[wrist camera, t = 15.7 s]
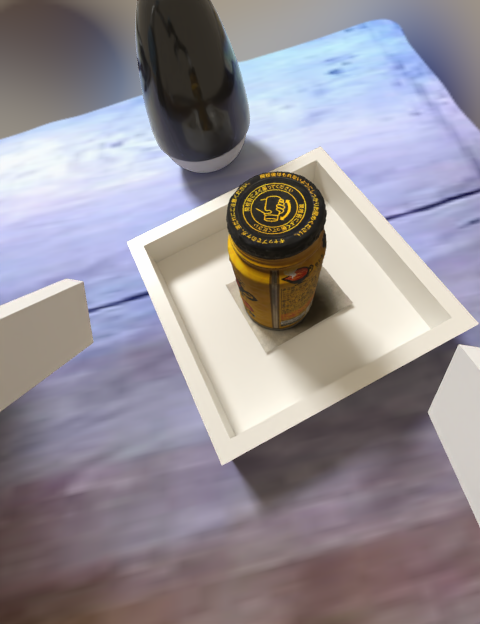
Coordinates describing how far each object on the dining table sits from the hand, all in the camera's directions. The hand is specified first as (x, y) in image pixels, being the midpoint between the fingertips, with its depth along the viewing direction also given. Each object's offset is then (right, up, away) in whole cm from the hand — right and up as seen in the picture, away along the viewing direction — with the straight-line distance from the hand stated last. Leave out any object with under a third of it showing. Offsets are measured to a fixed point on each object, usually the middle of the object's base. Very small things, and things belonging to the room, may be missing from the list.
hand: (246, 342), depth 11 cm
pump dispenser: (-4, +20, +24) cm, 31 cm away
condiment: (+4, +3, +16) cm, 17 cm away
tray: (+3, +2, +17) cm, 17 cm away
